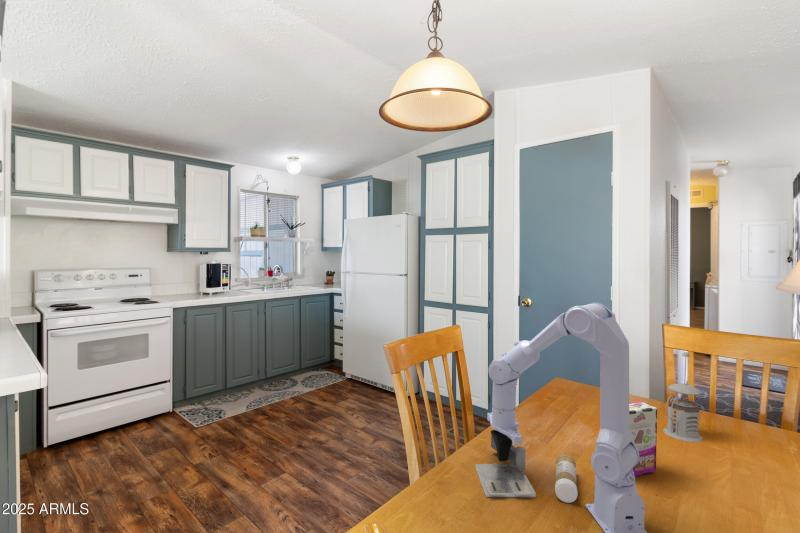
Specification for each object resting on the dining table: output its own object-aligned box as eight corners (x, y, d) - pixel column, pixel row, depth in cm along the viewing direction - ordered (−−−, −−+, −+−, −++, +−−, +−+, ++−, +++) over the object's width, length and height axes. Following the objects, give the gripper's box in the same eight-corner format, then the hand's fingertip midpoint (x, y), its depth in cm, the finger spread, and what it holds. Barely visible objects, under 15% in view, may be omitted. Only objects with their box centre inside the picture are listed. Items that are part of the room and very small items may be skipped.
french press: (710, 438, 119) (714, 354, 117) (684, 445, 114) (688, 358, 113) (677, 425, 128) (680, 347, 127) (651, 430, 123) (654, 350, 122)
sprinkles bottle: (563, 474, 100) (563, 507, 88) (552, 458, 101) (550, 487, 89) (580, 467, 99) (582, 498, 86) (568, 450, 99) (568, 479, 87)
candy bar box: (639, 462, 105) (642, 400, 104) (656, 473, 100) (659, 408, 99) (603, 468, 102) (606, 404, 101) (619, 479, 97) (622, 412, 96)
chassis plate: (536, 498, 89) (536, 493, 89) (486, 498, 89) (486, 492, 89) (519, 468, 101) (519, 463, 101) (475, 467, 101) (475, 462, 101)
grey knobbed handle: (519, 471, 97) (520, 451, 97) (490, 448, 108) (490, 430, 108) (527, 469, 98) (527, 450, 98) (497, 446, 109) (497, 429, 109)
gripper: (534, 416, 95) (532, 473, 95) (504, 395, 109) (503, 444, 109) (506, 419, 93) (505, 476, 93) (480, 397, 107) (479, 447, 108)
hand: (502, 459), depth 101 cm, fingers closed, pressing on grey knobbed handle
